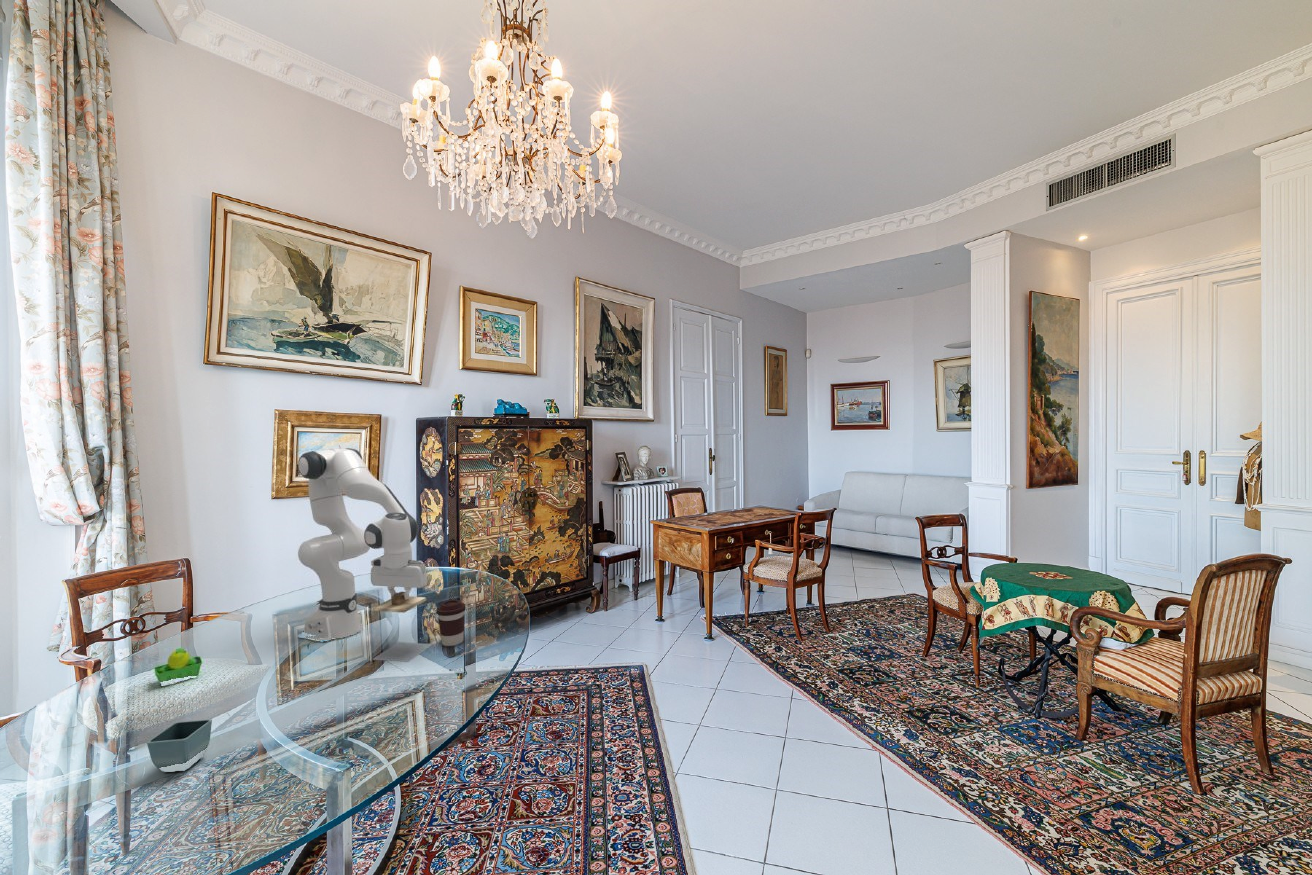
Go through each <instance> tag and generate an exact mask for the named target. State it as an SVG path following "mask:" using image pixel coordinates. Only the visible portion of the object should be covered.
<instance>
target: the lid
mask: <svg viewBox="0 0 1312 875" xmlns="http://www.w3.org/2000/svg"><path fill="white" fill-rule="evenodd" d="M404 593H405V591H399V592H397V594H395V595H393V596H391V595H390V599H388V600H386V601H384V602H382V603H380V604H378V605H376V606H374V607H373V608H372V610H373V612H390V613H403V614H404V613H406V612H408V611H410V610H412V609H413V608H415V607H417V606H418V605H420V604H422V603H424V602H426V601H427V597H423V596H421V597H420V596H409V598H408V599H402V594H404Z"/></svg>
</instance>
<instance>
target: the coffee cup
mask: <svg viewBox="0 0 1312 875" xmlns="http://www.w3.org/2000/svg"><path fill="white" fill-rule="evenodd" d="M466 609H467V608H466V604H465V603H464V602H462V601H461V600H459V599H450V600H446V601H443V602H441V603H440V605H439V606H437V607H436V609H435V610H436V615H438V628H439V634H440V638H441V644H442V646H445V647H453V646H456V645H460V644H461V643H463V642H464V632H465V611H466Z"/></svg>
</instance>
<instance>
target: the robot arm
mask: <svg viewBox="0 0 1312 875" xmlns="http://www.w3.org/2000/svg"><path fill="white" fill-rule="evenodd" d="M297 463H298V464H297V467H298V471H299V474H300V475H301V476H302V477H303V478H304V479H306V480H307V479H308V498H309V502H310V504H309V505H310V509H311V514H312V519H313V521H314V522H315V523H316V524H318V525H319V526H322V527H326V528H328V530H330V534H326V535H320V536H316V537H313V538H311V539H308V540H305V541H303V542H302V543H301V544H300V546H299V548H298V551H297V556H298V557H297V558H298V560H299V561H300V563H301V564H302V565H303V566H305V567H307V568H309V569H310V570H312V571H314V573H316V575H317V577H318V579H319V582H320V587H321V596H322V598H321V599H320V600H317V601H316V605H319V606H318V609H317V610H315V611H314V612H313V613H312V614H311V615H310V616H309V617H307V619H306V620H305V622H304V629H303V630H304V632H305V633H307V634H311V635H319V637H317V636H315V637H313V636H311V637H310V636H309V637H308V636H306V638H313V639H317V640H328V639H331V638H341V639H344V638H343V637H345V638H348V637H350V636H349V635H351V636H354V635H356V634H357V632H358V633H359V632H361V631H362V629H363V627H362V623H361V621H360V617H359V613H358V612H359V611H358V607H357V605H358V596H357V593H356V585H355V582H356V581H355V576H354V574H353V573H352V571H349V570H346V569H343V568H342V569H341V567H340V565H339V563H340V562H344V561H347V560H351V559H356V558H358V557H360V556H362V555H364V554H366V553H368V552H369V550H370V548H371V549H374V550H379V549H383V555H381V556H380V557H377V558H374V559H371V561H370V565H371V566H372V567H371V568H370V583H371V585H372V586H374V587H376V586H377V587H386V588H387V591H388V592H389V593H390V597H391V596H393V595H395V594H397V593H398V592H396V590H395V588H403V589H404V592H405V593H404V594H402V599H408V598H409V597H410V592H411V591H412V588H413V589H422V588H423V587H425V586H426V585H427V584H428V575H427V569H426V564H425V563H424V562H423V561H422V560H413V549H412V545H411V543H412V542H414V541H415V539H416V538H417V537H418V534H419V532H420V527H419V524H418V522H417V519H415V518H414V517H413V516H412V515H411V514H410V513H409V512H408V511H407V510H406V508H405V507H404V506H403V504H402V503H401V502H400V500H399V499H398V498H397V496H396V495H395V494H394V492H392V490H391V489H390V488H389V486H387V485H386V484H385V483H383V482H381V481H380V480H378V479H377V478H376V477H374V475H372V473H371V472H370V470H369V468H368V466H367V465H366V463H365V462H364V460H363V456H362V454H361V453H360V451H359V450H358V449H355V448H349V447H348V448H328V449H322V450H316V451H314V450H312V451H311V450H310V451H307V452H304V453H302V454H301V455H300V457H299V458H298V461H297ZM343 494H344V495H345V497H347V498H350V499H352V500H358V501H366V502H373V503H375V504H378V505H379V506H382V508H383V509H384V510H385V511H386V514H385V515H384V516H383V517H382V518H381V519H379V520H377V521H373V522H371V523H369V524H368V525H367V526H366V528H365V530H364V529H362V528H360V527H358V526H357V525H356V524H355V523H354V522H353V521H352V520H351V518H350V517H349V514H348V512H347V509H346V505H345V501H344V497H343ZM360 623H361V624H360ZM320 636H321V637H320ZM347 636H348V637H347ZM320 638H324V639H320Z"/></svg>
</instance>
